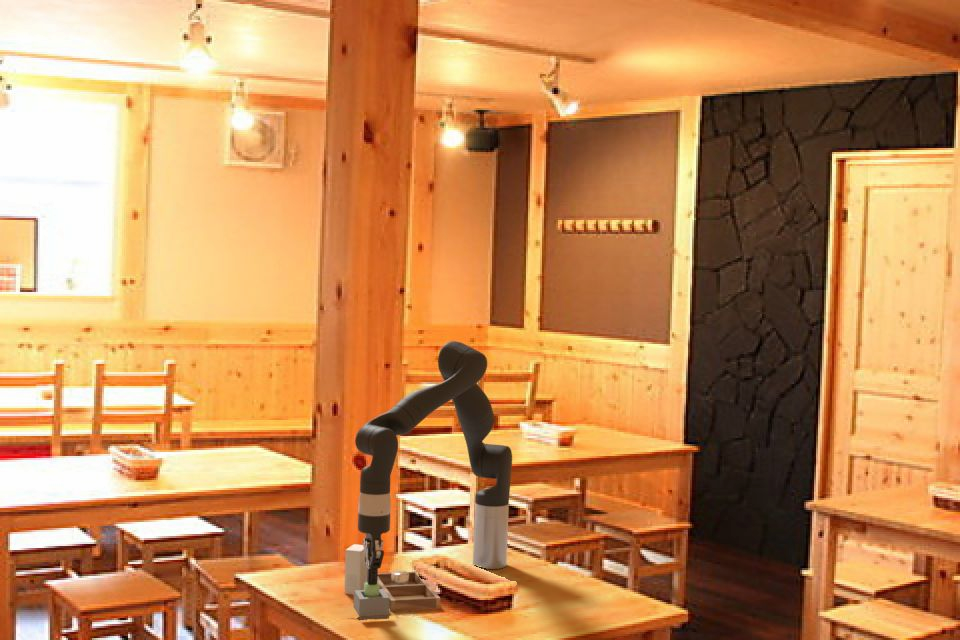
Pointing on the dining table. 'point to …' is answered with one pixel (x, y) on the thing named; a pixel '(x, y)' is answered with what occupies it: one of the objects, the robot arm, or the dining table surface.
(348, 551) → the skincare box
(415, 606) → the tray
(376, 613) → the grey square open box
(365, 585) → the button
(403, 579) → the beige rounded cylinder
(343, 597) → the dining table surface
